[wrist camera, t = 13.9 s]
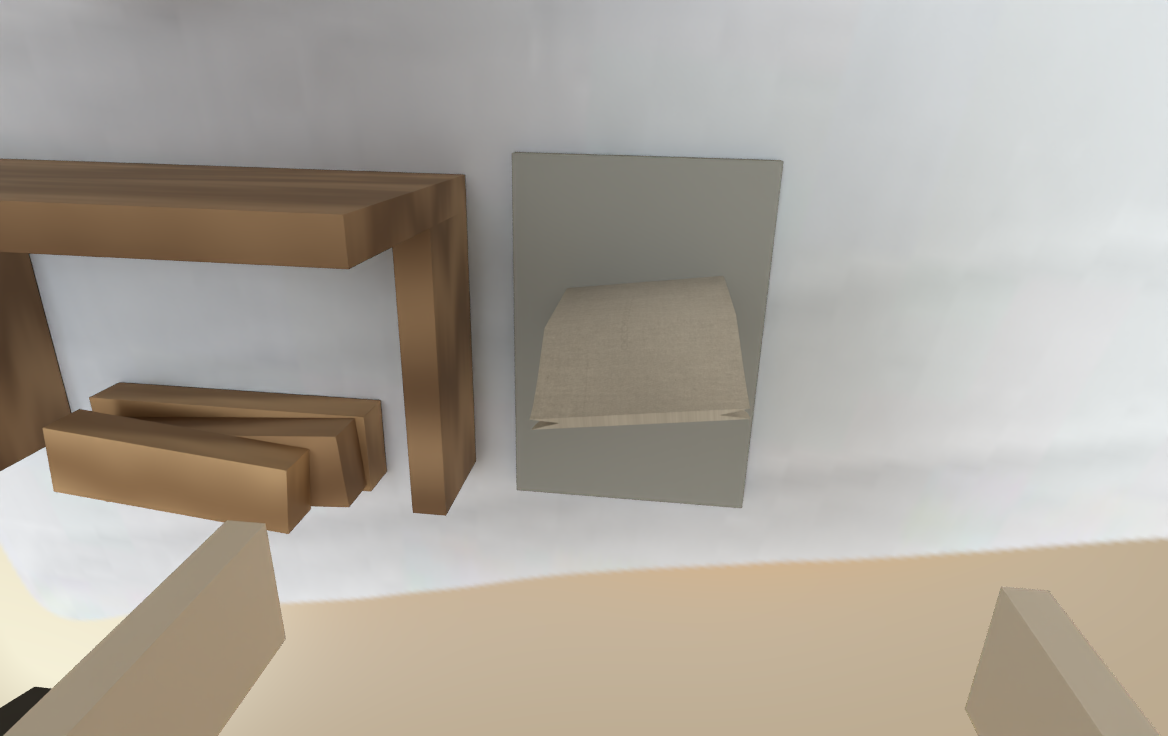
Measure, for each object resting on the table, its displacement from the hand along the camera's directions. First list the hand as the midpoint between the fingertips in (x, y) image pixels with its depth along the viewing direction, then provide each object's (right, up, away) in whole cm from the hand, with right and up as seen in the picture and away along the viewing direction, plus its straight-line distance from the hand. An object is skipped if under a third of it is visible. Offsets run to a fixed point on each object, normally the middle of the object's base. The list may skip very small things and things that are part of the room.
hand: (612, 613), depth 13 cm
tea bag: (+2, +7, +18) cm, 19 cm away
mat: (+2, +6, +19) cm, 20 cm away
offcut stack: (-18, +1, +23) cm, 29 cm away
